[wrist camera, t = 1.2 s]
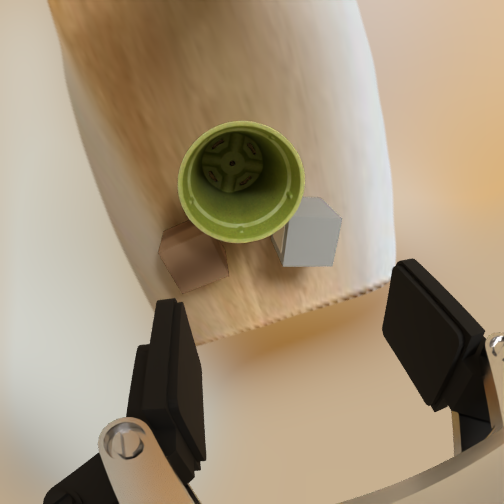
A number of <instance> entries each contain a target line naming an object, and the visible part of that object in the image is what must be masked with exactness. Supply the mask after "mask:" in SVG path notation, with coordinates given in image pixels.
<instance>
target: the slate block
mask: <svg viewBox="0 0 504 504" xmlns="http://www.w3.org/2000/svg"><path fill="white" fill-rule="evenodd" d="M341 222H342V218H341V217H340V216H339V215H338V214H337V213H336V212H335V211H334V210H333V209H332V208H331V207H330V206H329V205H328V204H327V203H326V202H325V201H324V200H323V199H322V198H316V197H302V200H301V202H300V204H299V207H298V209H297V211H296V212H295V214H294V215H293V217H292V218H291V219H290V220H289V221H288V222H287V223H286V225H284V226H283V227H282V228H281V229H280V230H278V231H276V232H275V233H274V234H272V235H271V241H272V243H273V245H274V248H275V250H276V252H277V254H278V257H279V259H280V261H281V264H282V266H283V267H316V266H333V261H334V257H335V252H336V247H337V242H338V237H339V232H340V227H341Z"/></svg>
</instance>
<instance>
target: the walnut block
mask: <svg viewBox="0 0 504 504" xmlns="http://www.w3.org/2000/svg"><path fill="white" fill-rule="evenodd" d="M158 253H159V255H160V257H161V259H162V260H163V262H164V264H165V266H166V267H167V269H168V271H169V272H170V274H171V276H172V278H173V279H174V281H175V283H176V284H177V286H178V288H179V289H180V291H181V293H182V294H184V293H186V292H189V291H191V290H194V289H197V288H199V287H202V286H204V285H207V284H209V283H212V282H215V281H217V280H220V279H222V278H225V277H227V276H229V272H228V265H227V258H226V252H225V250H224V248H223V245H222V243H221V241H220V240H218V239H215V238H213V237H211V236H209V235H207V234H205V233H204V232H202V231H201V230H200V229H198V228H197V227H196V226H195V225H194V224H193V223H192V222H191V221H190V220H188V221H186V222H184V223H181V224H179V225H177V226H175V227H172V228H170V229H168V230H165V231H164V233H163V236H162V240H161V244H160V248H159V252H158Z"/></svg>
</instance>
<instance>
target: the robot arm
mask: <svg viewBox="0 0 504 504" xmlns="http://www.w3.org/2000/svg"><path fill="white" fill-rule="evenodd" d="M382 331H383V335H384V337H385V338H386V340H387V342H388V343H389V345H390V346H391V348H392V350H393V351H394V353H395V354H396V356H397V357H398V359H399V361H400V362H401V364H402V366H403V367H404V369H405V370H406V372H407V374H408V375H409V377H410V379H411V380H412V382H413V383H414V385H415V387H416V388H417V390H418V392H419V393H420V395H421V397H422V398H423V400H424V402H425V403H426V404H427V405H428V406H430V405H431V407H432V409H433V410H434V412H437V411H439V410H441V409H443V408H445V407H447V406H449V407H450V409H451V413H452V425H453V441H454V457H453V458H451V459H449V460H447V461H445V462H443V463H441V464H439V465H437V466H435V467H433V468H431V469H428V470H426V471H424V472H422V473H420V474H418V475H415V476H413V477H411V478H408V479H406V480H403V481H401V482H399V483H396V484H394V485H391V486H388V487H386V488H383V489H381V490H378V491H375V492H372V493H369V494H366V495H363V496H360V497H357V498H354V499H351V500H347V501H344V502H341V503H337V504H504V333H500V332H499V333H493V334H491V335H489V337H488V338H487V339H486V338H485V337H484V336H483V335H484V332H485V330H484V329H483V328H482V327H481V326H480V325H479V324H478V322H476V320H475V319H474V318H473V317H472V316H471V315H470V314H469V313H468V312H467V311H466V310H465V308H463V307H462V305H461V304H460V303H459V302H458V301H457V300H456V299H455V298H454V297H453V296H452V295H451V294H450V293H449V292H448V291H447V290H446V289H445V288H444V287H443V286H442V285H441V284H440V283H439V282H438V281H437V280H436V279H435V278H434V277H433V276H432V275H431V274H430V273H429V272H428V271H427V270H426V269H425V268H424V267H423V266H422V265H421V264H419V263H418V262H417V261H416V260H415V259H407V260H402V261H399V262H397V264H396V266H395V267H393V269H392V275H391V281H390V288H389V294H388V300H387V305H386V311H385V316H384V321H383V327H382ZM98 448H99V453H97V454H96V455H95V456H94V457H92V458H91V459H90V460H88V461H87V462H86V463H85V464H83V465H82V466H81V467H79V468H78V469H77V470H76V471H74V472H73V473H71V474H70V475H69V476H67V477H66V478H65V479H63V480H62V481H61V482H59V483H58V484H56V485H55V486H54V487H52V488H51V489H50V490H49V491H48V492H47V494H46V496H45V498H44V501H43V504H202V503H201V502H200V500H199V499H198V497H197V496H196V494H195V492H194V491H193V489H192V488H191V486H190V485H189V482H190V481H191V480H192V479H193V478H194V477H195V474H194V471H198V470H201V466H200V461H206V445H205V429H204V411H203V389H202V369H201V363H200V360H199V356H198V353H197V350H196V346H195V343H194V339H193V336H192V332H191V329H190V325H189V322H188V318H187V314H186V311H185V307H184V304H183V302H179V303H177V301H176V299H175V298H173V299H165V300H158V301H157V303H156V309H155V315H154V321H153V327H152V333H151V339H150V344H147V345H139V346H138V348H137V353H136V358H135V364H134V369H133V375H132V381H131V387H130V394H129V400H128V407H127V414H126V417H123V418H120V419H116V420H114V421H112V422H111V423H109V424H108V425H107V426H106V427H105V428H104V429H103V430H102V432H101V434H100V436H99V440H98Z"/></svg>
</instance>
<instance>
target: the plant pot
mask: <svg viewBox="0 0 504 504" xmlns="http://www.w3.org/2000/svg"><path fill="white" fill-rule="evenodd" d="M220 140H224V142H223V143H221V144H219V145H218V146H217V147H216V148H215V149H212V146H213V145H214V144H215V143H217V142H218V141H220ZM247 143H249V144H251V145H252V146H253V148H254V149H255V151H256V155H253V153H252V151H251V149H250V148H249V147H248V146H247ZM231 161H234V162H235V165H233V166H231V165H230V162H231ZM209 171H212V173H213V175H214V176H215V178H216V179H217V180H218V182H217V181H214V180H213V179H212V178H211V177H210V175H209ZM249 176H251V179H250V180H249V181H248V182H247V183H246V184H244V185H240V182H242V181H244V180H245V179H247V178H248V177H249ZM304 187H305V173H304V168H303V164H302V161H301V159H300V156H299V154H298V152H297V151H296V149H295V148H294V146H293V145H292V144H291V143H290V142H289V140H288V139H286V138H285V137H284V136H283V135H282V134H281V133H279V132H278V131H276V130H274V129H273V128H271V127H269V126H266V125H264V124H260V123H257V122H251V121H233V122H228V123H224V124H221V125H218V126H216V127H214V128H212V129H210V130H208V131H207V132H205V133H204V134H202V135H201V136H200V137H199V138H198V139H197V140H196V141H195V142H194V143H193V144H192V145H191V147H190V148H189V149H188V151H187V153H186V154H185V156H184V158H183V161H182V163H181V166H180V169H179V174H178V195H179V199H180V203H181V205H182V208H183V210H184V211H185V213H186V215H187V217H188V218H189V219H190V221H191V222H192V223H193V224H194V225H195V226H196V227H197V228H198V229H200V230H201V231H202V232H204V233H205V234H207V235H209V236H211V237H213V238H215V239H218V240H221V241H225V242H230V243H247V242H253V241H257V240H261V239H264V238H266V237H268V236H270V235H272V234H274V233H275V232H276V231H278V230H280V229H281V228H282V227H283V226H284V225H286V223H287V222H288V221H289V220H290V219H291V218H292V217H293V215H294V214H295V212H296V211H297V209H298V207H299V204H300V202H301V200H302V197H303V193H304Z"/></svg>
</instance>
